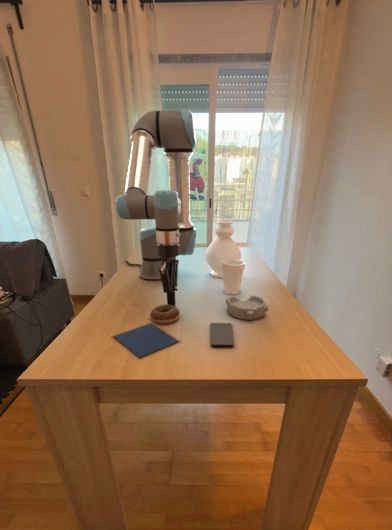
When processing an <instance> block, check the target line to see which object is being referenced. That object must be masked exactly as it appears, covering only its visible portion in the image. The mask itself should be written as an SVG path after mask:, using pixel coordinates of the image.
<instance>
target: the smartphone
mask: <svg viewBox="0 0 392 530" xmlns="http://www.w3.org/2000/svg"><path fill="white" fill-rule="evenodd" d="M210 346H211V347H214V348H233V347H234V346H235V343H234V336H233V330H232V323H231V322H211V323H210Z"/></svg>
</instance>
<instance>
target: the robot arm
mask: <svg viewBox="0 0 392 530" xmlns="http://www.w3.org/2000/svg"><path fill="white" fill-rule="evenodd" d="M130 133H131V134H130V138H129V144H130V147H131V150H130V157H129V164H128V171H127V176H126V182H125V190H124V194H120V195H117V196H116V198H115V208H116V212H117V215H118V217H119V218H120V219H122V220H130V221H131V220H155V225H150V226H146V227H143V228H141V230H140V231H139V241H140V251H141V260H142V261H141V263H140V264H139V263H130V262H129V260H128V259H126V260H125V264H127V265H129V266H136V267H140V271H139V277H140V279H143V280H146V281H160V280H161V285H162V291H163V293H164V294H165V293H166V305H167V304H168V305H173V306H175V307H176V308H177V306H176V305H177V304H176V292H177V291H178V275H179V274H178V273H179V264H180V260H179V259H177V257H178V256H191V255H193V254H194V252H195V247H196V240H197V229H196V228H194V224H193V222H191V195H190V194H191V191H190V189H191V188H190V187H191V186H190V184H191V183H190V158H191V157H192V156H193V154H194V149H195V148H197V137H196V127H195V119H194V115H193V112H191V110H183V109H175V110H174V109H172V110H171V109H169V110H151V111H147V112H146V113H144V114H143V115H142V116H141V117H140V118H139V119H138V120H137V121H136V123H135V124H134V126H133V128H132V129H131V132H130ZM156 149H163V154H164V155H165V156H166V157H167V159H168V180H169V190H167V189H165V190H164V189H163V190H155V191H154V193H153V195H149V194H148V187H149V186H148V185H149V179H150V171H151V164H152V163H151V162H152V155H153V154H154V153H155V150H156Z"/></svg>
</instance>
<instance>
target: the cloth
mask: <svg viewBox="0 0 392 530" xmlns="http://www.w3.org/2000/svg"><path fill="white" fill-rule="evenodd" d="M113 338H114V339H115V340H117V342H119V343H120V344H122V345H123V346H124V347H125V348H126V349H128V350H129V351H130V352H131V353H132V354H134V356H136V357H137V358H139V359H141V358H144V357H146V356H148V355H150V354H153V353H155V352H159V351H160V350H163V349H165V348H167V347H170V346H173V345H175V344H177V343H179V340H178V339H176V338H174V337H173V336H171V335H169V334H168V333H166V332H165V331H164V330H162V329H160V328H158V326H156V325H154V324H152V323H151V322H150V323H148V324H145V325H142V326H139V327H137V328H133V329H131V330H128V331H126V332H122V333H120V334H116V335H113Z"/></svg>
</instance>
